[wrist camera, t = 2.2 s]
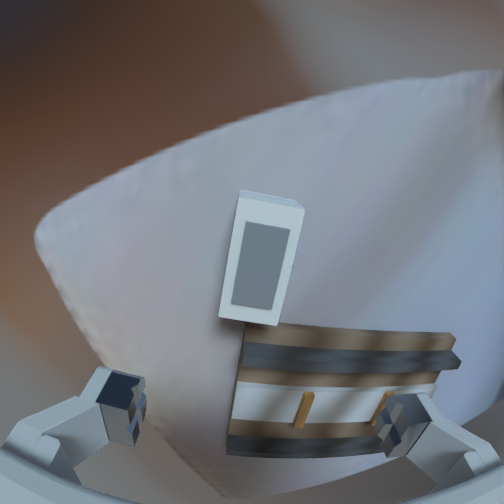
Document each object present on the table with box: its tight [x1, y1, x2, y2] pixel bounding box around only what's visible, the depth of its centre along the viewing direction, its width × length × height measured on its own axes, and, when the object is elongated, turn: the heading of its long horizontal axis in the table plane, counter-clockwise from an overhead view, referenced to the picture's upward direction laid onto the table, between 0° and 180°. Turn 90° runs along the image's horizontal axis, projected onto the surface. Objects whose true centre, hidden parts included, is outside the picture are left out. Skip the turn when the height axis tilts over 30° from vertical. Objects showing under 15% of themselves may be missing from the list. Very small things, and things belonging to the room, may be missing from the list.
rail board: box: [226, 321, 461, 458], centre depth 29 cm, size 24×18×4 cm
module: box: [218, 190, 305, 326], centre depth 24 cm, size 4×9×5 cm, turn 169°
